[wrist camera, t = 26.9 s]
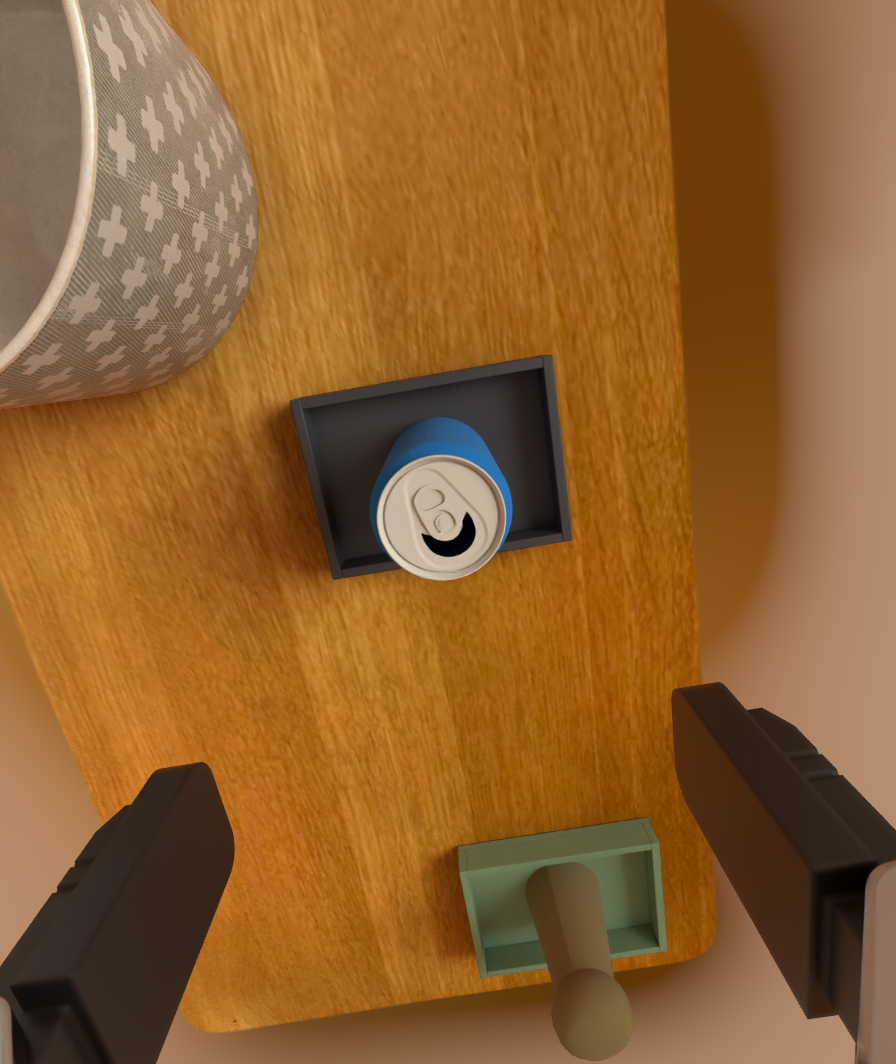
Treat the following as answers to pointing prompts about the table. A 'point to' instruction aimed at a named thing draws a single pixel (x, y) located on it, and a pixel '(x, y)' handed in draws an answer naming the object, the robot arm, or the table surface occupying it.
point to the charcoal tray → (390, 408)
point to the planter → (113, 203)
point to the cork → (579, 961)
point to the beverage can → (440, 501)
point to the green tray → (608, 850)
